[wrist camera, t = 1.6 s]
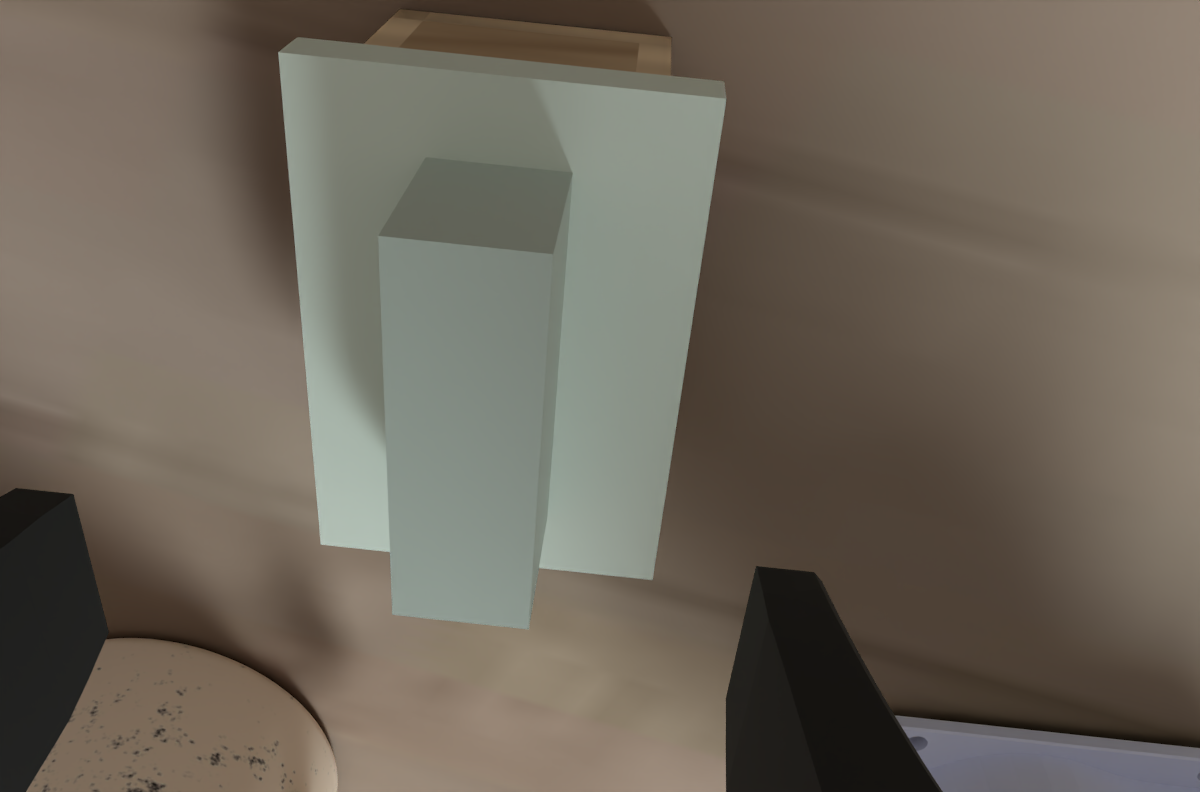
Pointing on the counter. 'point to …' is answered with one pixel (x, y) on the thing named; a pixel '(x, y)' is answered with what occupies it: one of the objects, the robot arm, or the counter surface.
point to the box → (526, 41)
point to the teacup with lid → (185, 728)
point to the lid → (494, 310)
